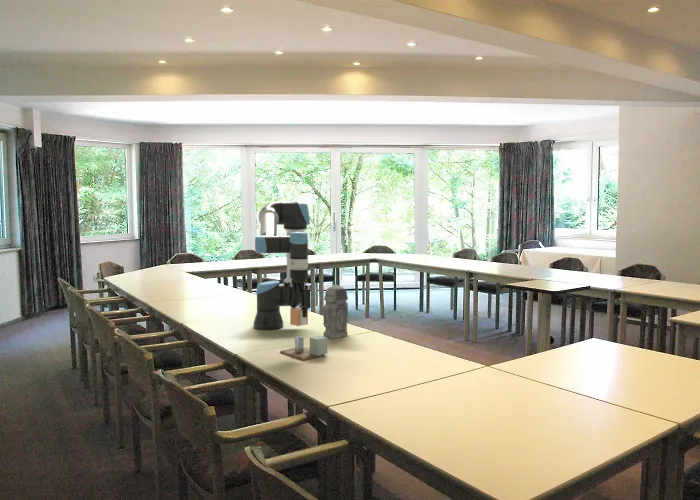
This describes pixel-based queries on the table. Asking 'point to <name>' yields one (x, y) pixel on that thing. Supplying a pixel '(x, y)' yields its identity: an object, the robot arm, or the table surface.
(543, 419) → the table surface
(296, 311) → the orange block
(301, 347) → the post
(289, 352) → the stand
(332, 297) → the figurine
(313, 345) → the pale blue-grey block
